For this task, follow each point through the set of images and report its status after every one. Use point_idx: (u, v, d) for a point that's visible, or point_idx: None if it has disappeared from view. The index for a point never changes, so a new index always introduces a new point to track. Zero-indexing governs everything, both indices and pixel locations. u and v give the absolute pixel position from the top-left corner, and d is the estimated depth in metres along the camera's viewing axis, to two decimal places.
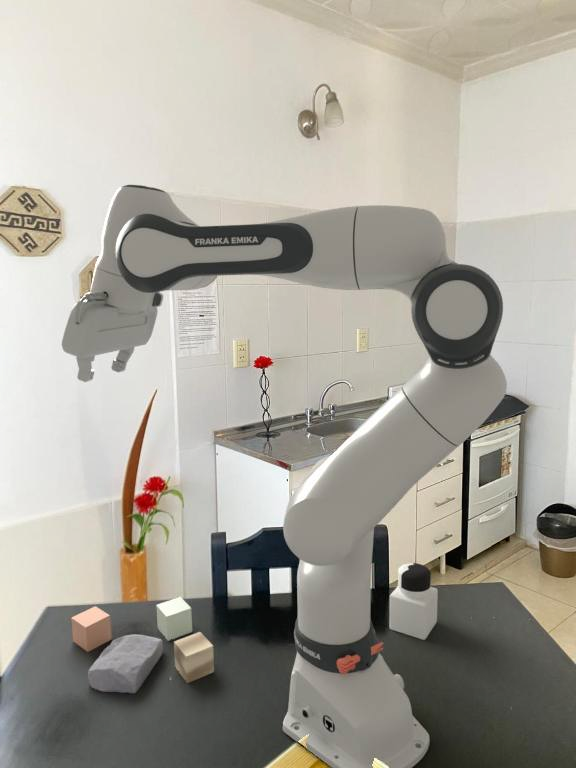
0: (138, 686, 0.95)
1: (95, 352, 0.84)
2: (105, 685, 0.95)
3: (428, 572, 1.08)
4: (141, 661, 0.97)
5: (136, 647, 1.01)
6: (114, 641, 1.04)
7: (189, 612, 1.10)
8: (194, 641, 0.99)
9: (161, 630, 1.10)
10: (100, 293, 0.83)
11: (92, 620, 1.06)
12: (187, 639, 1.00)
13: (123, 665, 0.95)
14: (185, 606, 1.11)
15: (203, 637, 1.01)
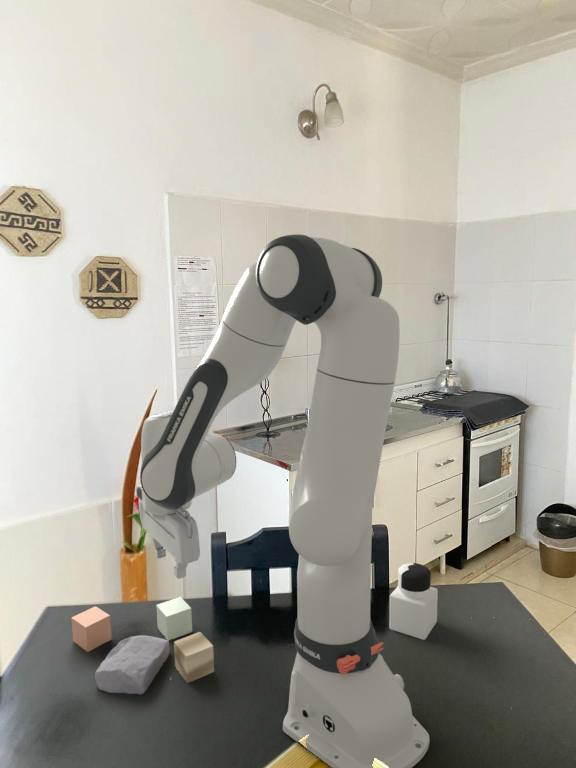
0: (146, 687, 0.94)
1: None
2: (112, 686, 0.94)
3: (428, 572, 1.08)
4: (149, 662, 0.96)
5: (143, 648, 1.01)
6: (121, 642, 1.04)
7: (189, 612, 1.10)
8: (194, 641, 0.99)
9: (161, 630, 1.10)
10: (182, 507, 1.02)
11: (92, 620, 1.06)
12: (187, 639, 1.00)
13: (130, 667, 0.95)
14: (185, 606, 1.11)
15: (203, 637, 1.01)
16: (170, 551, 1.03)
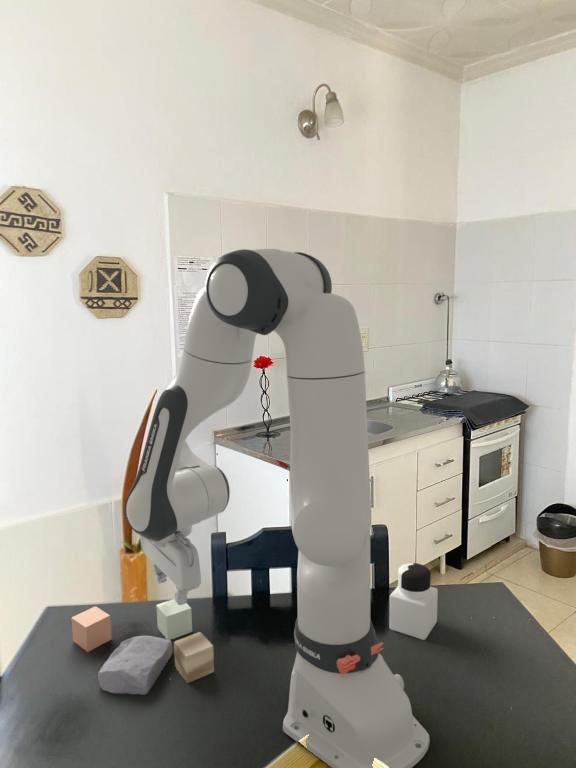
0: (149, 688, 0.94)
1: None
2: (116, 687, 0.94)
3: (428, 572, 1.08)
4: (152, 662, 0.96)
5: (146, 648, 1.01)
6: (123, 642, 1.03)
7: (189, 612, 1.10)
8: (194, 641, 0.99)
9: (161, 630, 1.10)
10: (183, 534, 1.03)
11: (92, 620, 1.06)
12: (187, 639, 1.00)
13: (133, 667, 0.94)
14: (185, 606, 1.11)
15: (203, 637, 1.01)
16: (171, 578, 1.04)
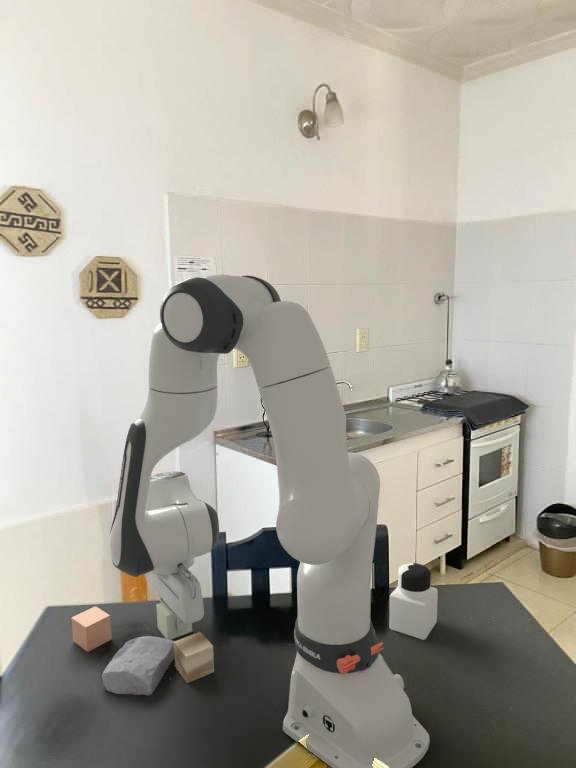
0: (153, 688, 0.94)
1: None
2: (120, 687, 0.94)
3: (428, 572, 1.08)
4: (156, 663, 0.96)
5: (149, 649, 1.00)
6: (127, 643, 1.03)
7: None
8: (194, 641, 0.99)
9: (161, 630, 1.10)
10: (185, 567, 1.04)
11: (92, 620, 1.06)
12: (187, 639, 1.00)
13: (137, 667, 0.94)
14: None
15: (203, 637, 1.01)
16: (174, 610, 1.05)
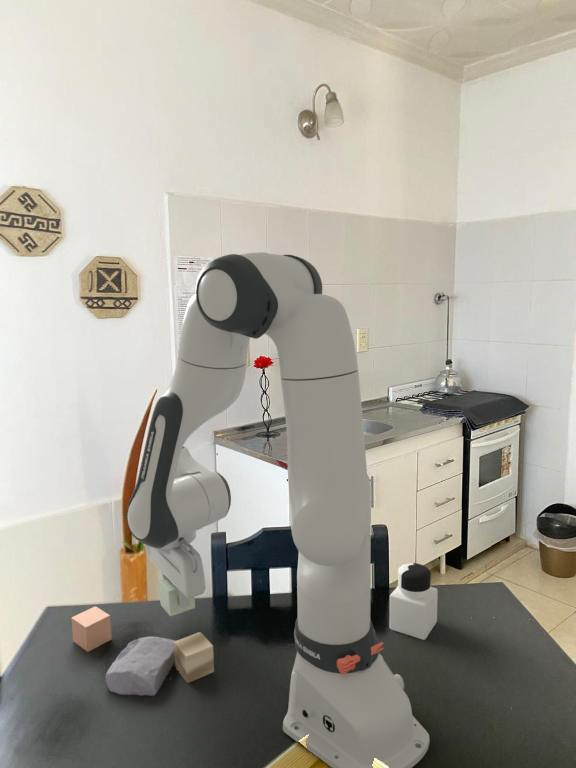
0: (157, 688, 0.94)
1: None
2: (123, 688, 0.94)
3: (428, 572, 1.08)
4: (160, 663, 0.96)
5: (153, 649, 1.00)
6: (130, 643, 1.03)
7: None
8: (194, 641, 0.99)
9: (164, 606, 1.10)
10: (186, 541, 1.03)
11: (92, 620, 1.06)
12: (187, 639, 1.00)
13: (141, 668, 0.94)
14: None
15: (203, 637, 1.01)
16: (176, 585, 1.04)
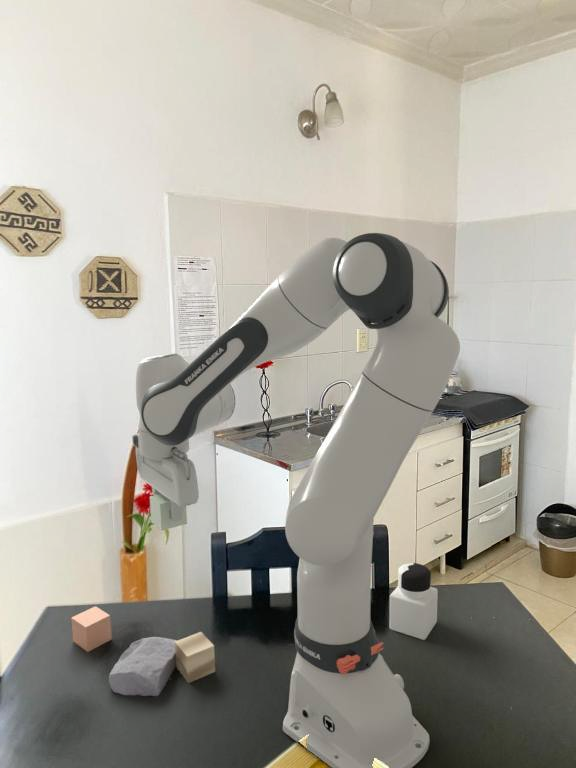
0: (161, 689, 0.94)
1: None
2: (127, 689, 0.94)
3: (428, 572, 1.08)
4: (163, 663, 0.96)
5: (156, 649, 1.00)
6: (132, 644, 1.03)
7: None
8: (195, 641, 0.99)
9: (155, 521, 1.07)
10: (179, 449, 1.00)
11: (92, 620, 1.06)
12: (188, 639, 1.00)
13: (145, 668, 0.94)
14: None
15: (204, 637, 1.01)
16: (168, 495, 1.01)
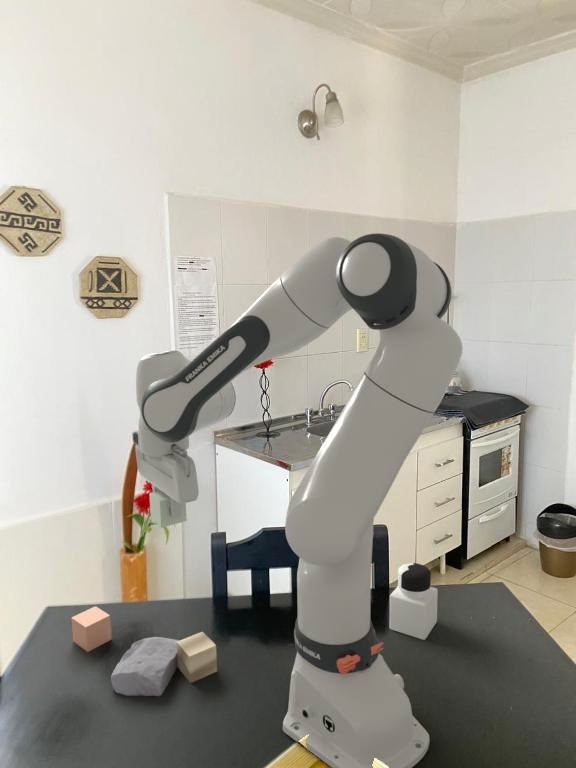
0: (163, 689, 0.94)
1: None
2: (129, 689, 0.94)
3: (428, 572, 1.08)
4: (165, 663, 0.96)
5: (158, 650, 1.00)
6: (134, 644, 1.03)
7: None
8: (196, 641, 0.99)
9: (154, 518, 1.07)
10: (179, 446, 1.00)
11: (92, 620, 1.06)
12: (190, 639, 1.00)
13: (147, 668, 0.94)
14: None
15: (206, 637, 1.01)
16: (168, 492, 1.01)
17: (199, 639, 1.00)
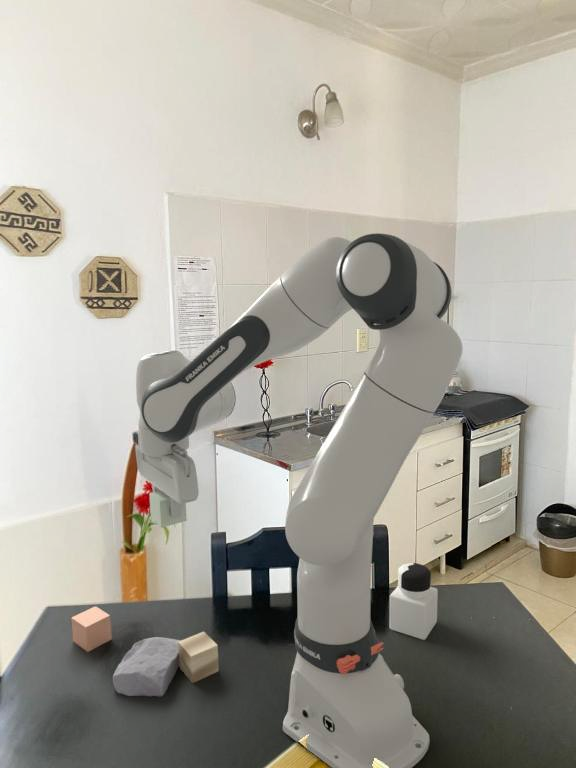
0: (165, 689, 0.94)
1: None
2: (131, 689, 0.94)
3: (428, 572, 1.08)
4: (167, 663, 0.96)
5: (159, 650, 1.00)
6: (135, 645, 1.03)
7: None
8: (198, 641, 0.99)
9: (154, 518, 1.07)
10: (179, 446, 1.00)
11: (92, 620, 1.06)
12: (191, 639, 1.00)
13: (149, 669, 0.94)
14: None
15: (207, 637, 1.01)
16: (168, 492, 1.01)
17: (200, 639, 1.00)
